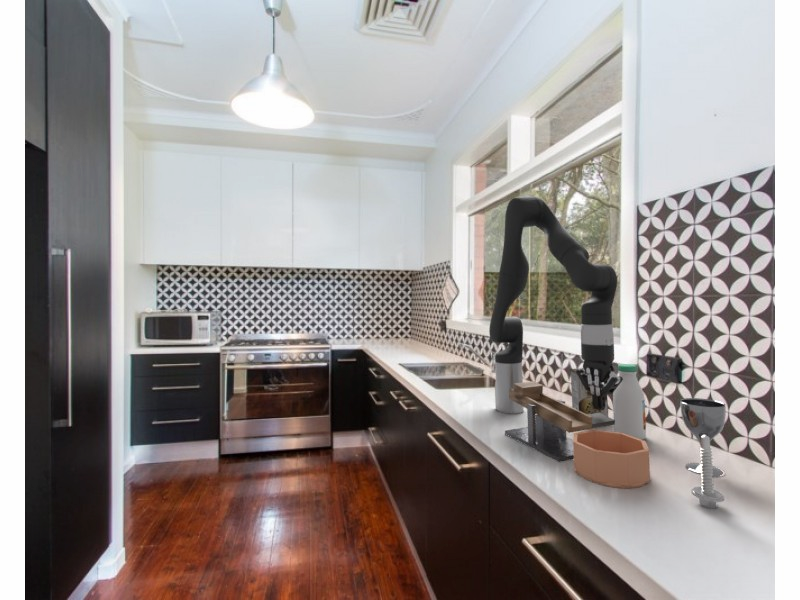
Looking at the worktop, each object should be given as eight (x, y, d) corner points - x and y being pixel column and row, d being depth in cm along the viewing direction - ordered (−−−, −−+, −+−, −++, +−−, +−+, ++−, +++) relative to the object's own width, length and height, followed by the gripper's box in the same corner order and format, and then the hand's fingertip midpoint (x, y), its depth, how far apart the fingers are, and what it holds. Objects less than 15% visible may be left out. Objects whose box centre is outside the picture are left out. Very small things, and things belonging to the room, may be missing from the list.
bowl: (560, 465, 90) (559, 435, 90) (607, 456, 95) (606, 427, 95) (613, 493, 77) (611, 458, 77) (664, 480, 82) (663, 447, 82)
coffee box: (600, 417, 127) (598, 367, 127) (609, 423, 120) (607, 371, 120) (571, 417, 128) (569, 368, 128) (578, 423, 121) (576, 371, 121)
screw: (690, 506, 71) (692, 495, 75) (725, 515, 68) (724, 503, 72) (688, 435, 72) (689, 428, 75) (722, 441, 68) (722, 433, 72)
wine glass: (717, 481, 81) (714, 409, 81) (675, 467, 88) (672, 401, 88) (735, 472, 84) (732, 403, 85) (694, 459, 91) (691, 396, 92)
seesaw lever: (506, 398, 115) (507, 381, 114) (548, 393, 120) (549, 377, 119) (566, 433, 92) (567, 412, 92) (614, 424, 97) (616, 404, 97)
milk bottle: (640, 443, 103) (637, 368, 103) (609, 436, 109) (607, 365, 109) (650, 436, 108) (647, 364, 108) (620, 430, 114) (617, 361, 114)
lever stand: (504, 434, 113) (503, 396, 113) (538, 428, 117) (537, 392, 117) (559, 462, 93) (557, 416, 93) (597, 454, 97) (596, 410, 97)
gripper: (566, 340, 104) (568, 404, 104) (607, 345, 92) (610, 418, 92) (587, 338, 107) (589, 401, 107) (631, 343, 94) (633, 414, 94)
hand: (599, 409), depth 99 cm, fingers closed
